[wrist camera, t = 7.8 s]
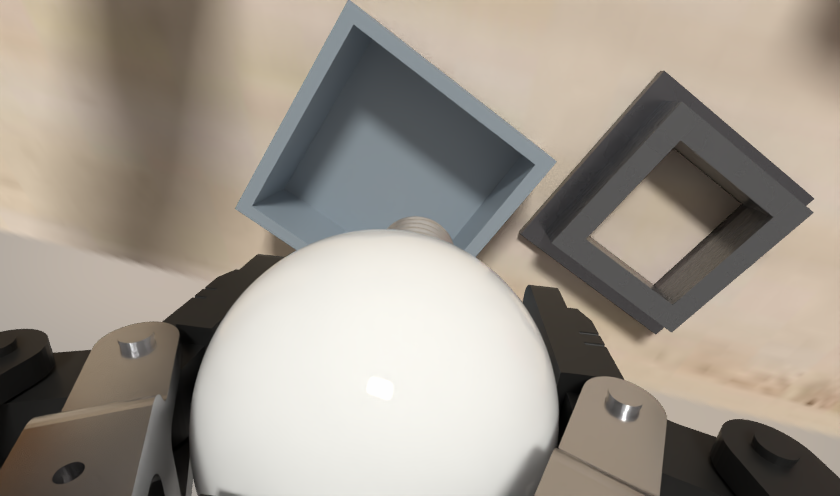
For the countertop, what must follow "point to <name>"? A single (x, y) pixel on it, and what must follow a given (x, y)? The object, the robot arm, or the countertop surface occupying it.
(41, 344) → the robot arm
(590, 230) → the dark grey square frame
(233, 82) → the countertop surface
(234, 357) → the lightbulb
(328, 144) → the bin
